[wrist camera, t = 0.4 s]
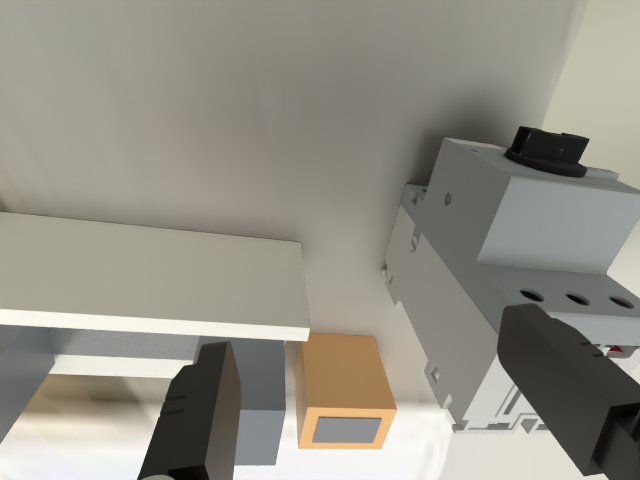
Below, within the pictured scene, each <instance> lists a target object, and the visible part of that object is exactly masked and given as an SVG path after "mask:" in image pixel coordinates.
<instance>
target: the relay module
mask: <svg viewBox="0 0 640 480" xmlns="http://www.w3.org/2000/svg"><path fill="white" fill-rule="evenodd" d="M294 376H295V396H296V416H297V436H298V449H381V448H382V445H383V443H384V440H385V438H386V435H387V433H388V431H389V428H390V426H391V423H392V421H393V418H394V416H395V413H396V411H397V408H396V405H395V402H394V399H393V396H392V392H391V389H390V386H389V383H388V380H387V377H386V374H385V371H384V368H383V365H382V361H381V358H380V355H379V352H378V349H377V346H376V343H375V340H374V337H373V336H356V335H339V334H323V333H309V336H308V341H300V343H299V348H298V353H297V359H296V364H295V369H294Z"/></svg>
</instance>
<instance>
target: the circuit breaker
mask: <svg viewBox="0 0 640 480" xmlns="http://www.w3.org/2000/svg"><path fill="white" fill-rule="evenodd" d="M589 140H590V139H588V138H585V137H581V136H577V135H572V134H566V133H562V134H556V133H550V132H545V131H542V130H539V129H536V128H529V127H523V126H520V127H519V129H518V132H517V134H516V136H515V139H514V141H513V144H512V146H511V147H506V146H504V147H501V146H497V145H493V144H486V143H480V142H473V141H466V140H460V139H453V138H447V137H444V138H443V141H442V145H441V148H440V151H439V154H438V157H437V160H436V163H435V166H434V169H433V173H432V176H431V179H430V182H429V185H428V186H420V185H412V184H406V185H405V189H404V192H403V196H402V199H401V204H400V206H399V210H398V213H397V217H396V220H395V224H394V227H393V231H392V234H391V238H390V241H389V245H388V248H387V252H386V255H385V259H384V260H385V262H386V264H387V267H386V268H382V269H381V274H382V275H386V276H387V278H386V282H385V284H386V286H387V288H388V290H389V293H390V295H391V297H392V299H393V302H394V304H395V306H400V307H404V309H405V311H406V313H407V315H408V317H409V320H410V322H411V324H412V326H413V328H414V330H415V332H416V334H417V337H418V339H419V341H420V343H421V345H422V347H423V349H424V352H425V354H426V356H427V358H428V363H427V365H426V368H425V370H424V372H425V374H426V377H427V379H428V381H429V383H430V386H431V388H432V390H433V392H434V395H435V397H436V399H437V401H438V403H439V405H440V407H441V409H448V410H449V412H450V413H451V415H452V417H453V419H454V421H455V422H456V424H453V425H452V429H453V431H454V433H455V434H514V433H515V431H516V430H517V428H518V427H519V425H520V424H521V425H522V427H523V428H524V429H525V431H526V432H527V433H528V434H552V433H551V432H550V430H549V429H548V428H547V426H546V425H545V424H540V423H544V422H543V421H542V420H541V418H540V417H539V416H538V414H537V413H536V412H535V410H534V409H533V408H532V406H531V405H530V404H529V402H528V401H527V400H526V398H525V397H524V396H523V394H522V393H521V392H520V390H519V389H518V387H517V386H516V385H515V383H514V382H513V381H512V379H511V378H510V377H509V375H508V374H507V373H506V371H505V370H504V369H503V367H502V365H501V364H500V361H499V358H498V354H497V342H498V337H499V331H500V325H501V319H502V313H503V310H504V308H505V307H506V306H511V305H519V304H526V303H535V304H537V305H538V306H539V307H540V308H541V309H542V310H544V311H545V312H546V313H547V314H548V315H549V316H550V317H551V318H557V319H559V320H561V321H563V322H564V323H566V324H568V325H570V326H572V327H574V328H576V329H577V330H578V331H579V332H580V333H581V334H583V335H584V336H585V337H586V338H587V339H588V340H589V341H591V344H592V345H595V346H596V347H597V348H598V349H600V350H601V351H602V352H603V353H604V356H608V357H609V358H610V359H611V360H612V361H613V362H614V363H616V364H617V365H618V366H619V367H620V368H621V369H622V370H624V371H625V372H626V373H627V374H628V375H630V374H631V373H632V372H633V370H634V369H635V368H636V367H637V365H638V364H639V363H640V299H639V298H638V297H637V296H635V295H634V294H633V293H631V292H630V291H628V290H627V289H626V288H624V287H623V286H621V285H620V284H618V283H617V282H616V281H614V280H613V279H612V278H610V277H609V276H608V275H607V273H606V272H607V270H608V269H609V267H610V265H611V264H612V262H613V260H614V259H615V257H616V256H617V254H618V252H619V251H620V249H621V247H622V246H623V244H624V242H625V241H626V239H627V237H628V236H629V234H630V233H631V231H632V230H633V228H634V226H635V225H636V223H637V221H638V220H639V218H640V190H638V189H635V188H633V187H631V186H628V185H626V184H624V183H621V182H619V181H617V179H618V177H619V174H618V173H615V172H612V171H610V170H605V169H598V168H592V167H585V166H583V165H581V164H579V163H578V162H579V160H580V158H581V156H582V154H583V152H584V150H585V148H586V146H587V144H588V142H589ZM435 376H439V378H438V380H437V379H436V377H435ZM489 423H498V424H489Z"/></svg>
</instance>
